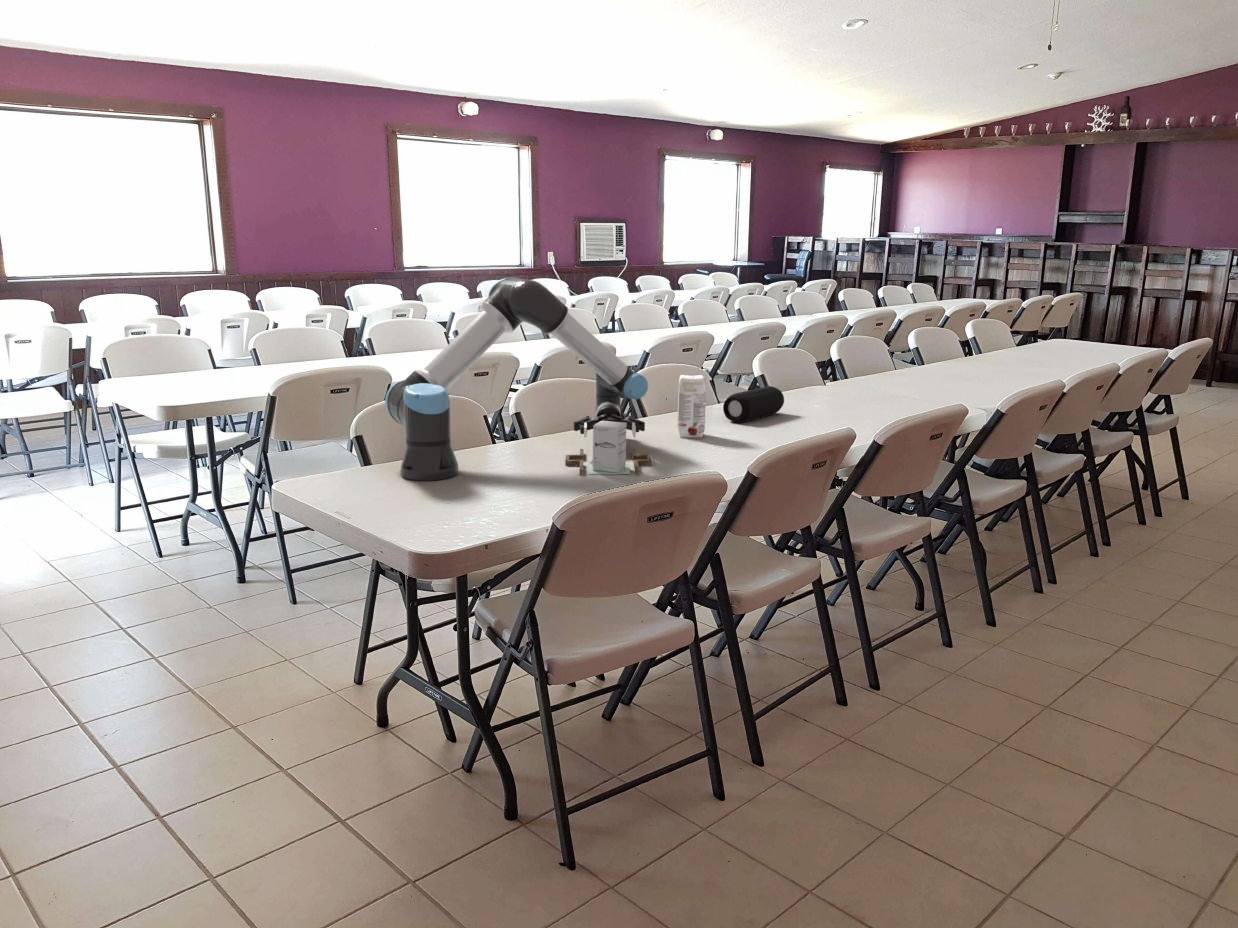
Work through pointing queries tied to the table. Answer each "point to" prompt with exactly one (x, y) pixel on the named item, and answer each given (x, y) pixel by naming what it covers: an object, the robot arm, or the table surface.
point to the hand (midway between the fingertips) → (609, 432)
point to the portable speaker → (753, 404)
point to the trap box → (638, 458)
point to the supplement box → (609, 446)
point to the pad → (597, 472)
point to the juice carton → (691, 406)
